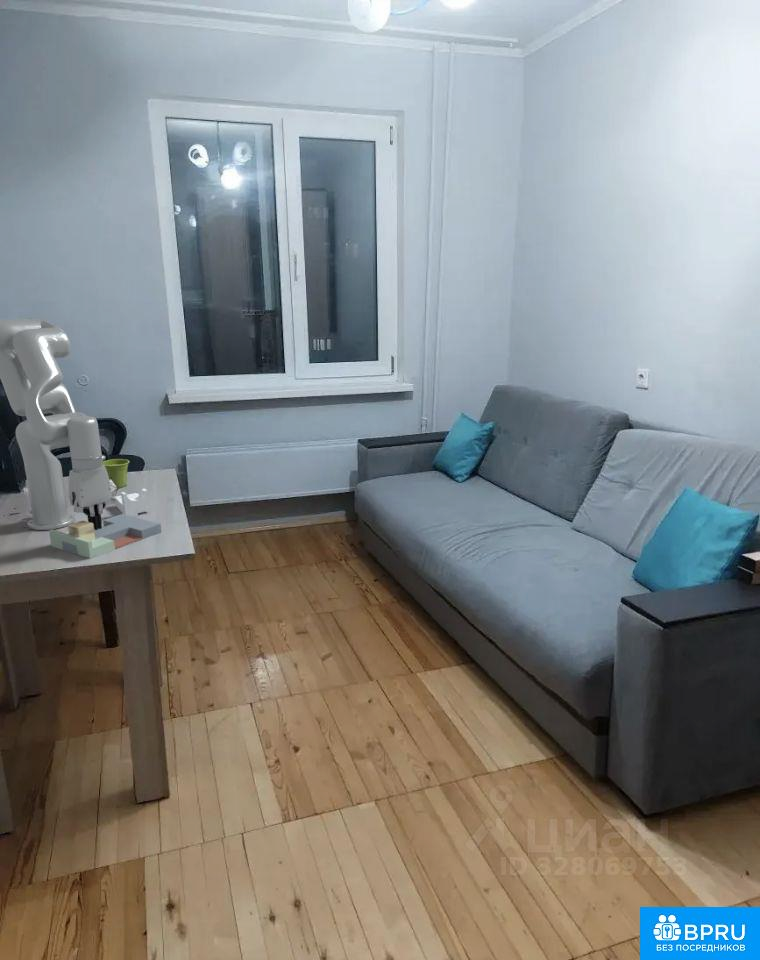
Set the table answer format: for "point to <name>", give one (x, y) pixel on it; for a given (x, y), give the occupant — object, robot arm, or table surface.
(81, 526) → the maple block
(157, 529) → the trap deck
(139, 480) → the table surface
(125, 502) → the bracket
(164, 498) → the table surface
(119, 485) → the plant pot
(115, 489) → the game die
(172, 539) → the table surface
